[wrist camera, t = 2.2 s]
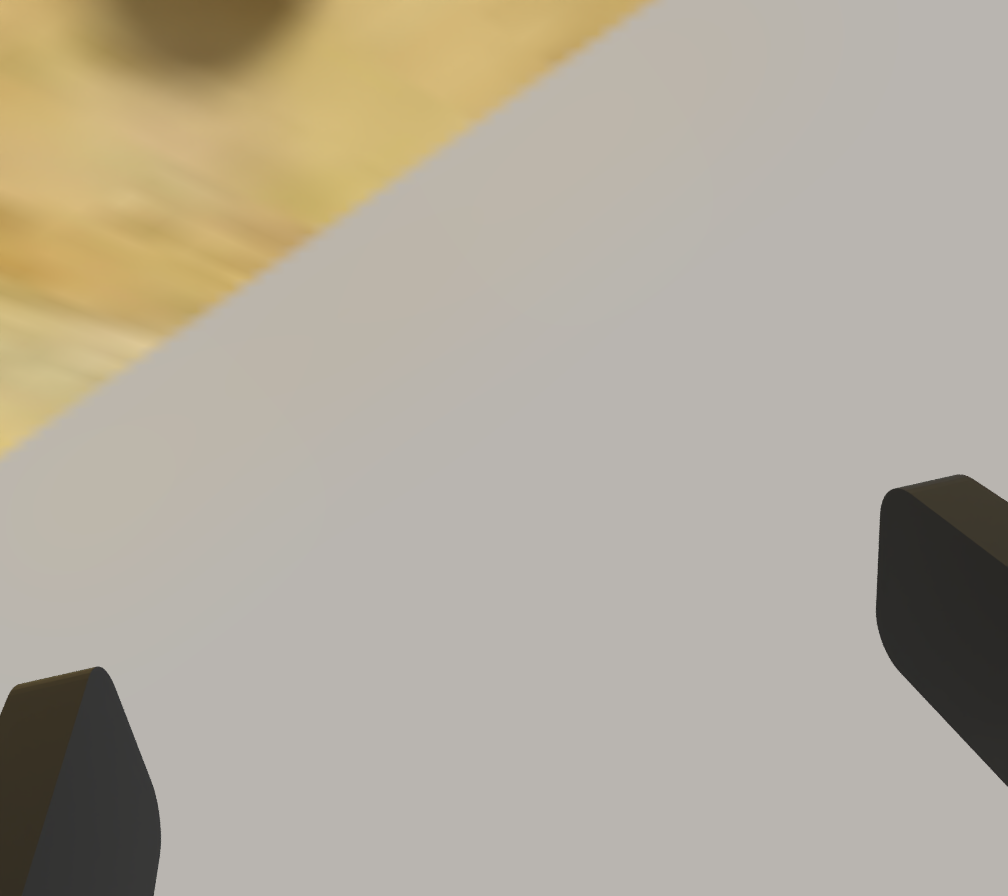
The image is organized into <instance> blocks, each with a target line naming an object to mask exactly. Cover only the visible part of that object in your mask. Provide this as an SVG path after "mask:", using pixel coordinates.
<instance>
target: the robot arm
mask: <svg viewBox="0 0 1008 896" xmlns="http://www.w3.org/2000/svg"><path fill="white" fill-rule="evenodd" d="M876 618H877V625H878V630H879V634H880V637H881V640H882V643H883V646H884V648H885V650H886V652H887V654H888V656H889V658H890V659H891V661H892V662H893V664H894V666H895V667H896V668H897V669H898V670H899V672H900V673H901V674H902V675H903V676H904V677H905V678H906V679H907V680H908V681H909V682H910V683H911V684H912V685H913V687H914V688H915V689H916V690H917V691H918V692H919V693H920V694H921V695H922V696H923V697H924V698H925V699H926V700H927V701H928V703H929V704H930V705H931V706H932V707H933V708H934V709H935V710H936V711H937V712H938V713H939V714H940V715H941V716H942V717H943V718H944V719H945V720H946V722H947V723H948V724H949V725H950V726H951V727H952V728H953V729H954V730H955V731H956V732H957V733H958V734H959V735H960V737H961V738H962V739H963V740H964V741H965V742H966V743H967V744H968V745H969V746H970V747H971V748H972V749H973V750H974V751H975V752H976V753H977V755H978V756H979V757H980V758H981V759H982V760H983V761H984V762H985V763H986V764H987V765H988V766H989V767H990V768H991V769H992V770H993V772H994V773H995V774H996V775H997V776H998V777H999V778H1000V779H1001V780H1002V781H1003V782H1004V783H1005V784H1006V785H1007V786H1008V502H1007V501H1005V500H1004V499H1002V498H1001V497H999V496H998V495H996V494H995V493H993V492H992V491H990V490H989V489H987V488H986V487H984V486H983V485H981V484H979V483H978V482H977V481H975V480H974V479H972V478H970V477H968V476H965V475H953V476H949V477H944V478H940V479H935V480H931V481H926V482H922V483H918V484H913V485H909V486H904V487H900V488H895V489H892V490H890V491H889V492H888V493H887V494H886V495H885V497H884V499H883V501H882V505H881V511H880V530H879V552H878V576H877V600H876ZM160 849H161V828H160V817H159V810H158V804H157V799H156V795H155V791H154V788H153V785H152V782H151V779H150V777H149V774H148V772H147V769H146V766H145V764H144V761H143V759H142V756H141V754H140V751H139V748H138V746H137V743H136V740H135V738H134V735H133V733H132V730H131V727H130V725H129V722H128V720H127V717H126V715H125V712H124V709H123V707H122V704H121V701H120V699H119V696H118V694H117V691H116V688H115V686H114V684H113V681H112V679H111V678H110V676H109V674H108V673H107V672H106V671H105V670H104V669H103V668H101V667H93V668H89V669H84V670H80V671H76V672H72V673H67V674H62V675H58V676H53V677H49V678H45V679H40V680H36V681H31V682H27V683H22V684H18V685H16V686H15V687H14V688H13V689H12V690H11V692H10V694H9V695H8V698H7V700H6V702H5V705H4V707H3V710H2V712H1V715H0V896H154V889H155V883H156V877H157V870H158V864H159V857H160Z"/></svg>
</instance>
